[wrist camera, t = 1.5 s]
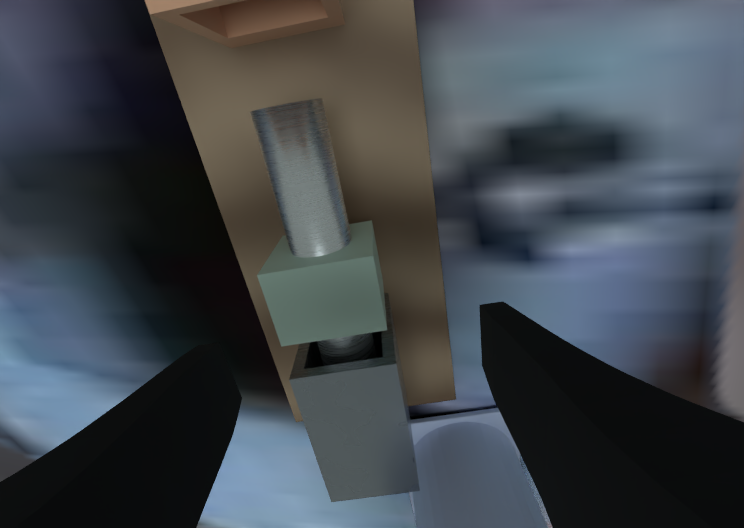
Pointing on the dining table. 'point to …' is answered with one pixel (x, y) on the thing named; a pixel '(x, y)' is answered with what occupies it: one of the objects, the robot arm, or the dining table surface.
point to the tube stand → (360, 193)
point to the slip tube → (317, 242)
